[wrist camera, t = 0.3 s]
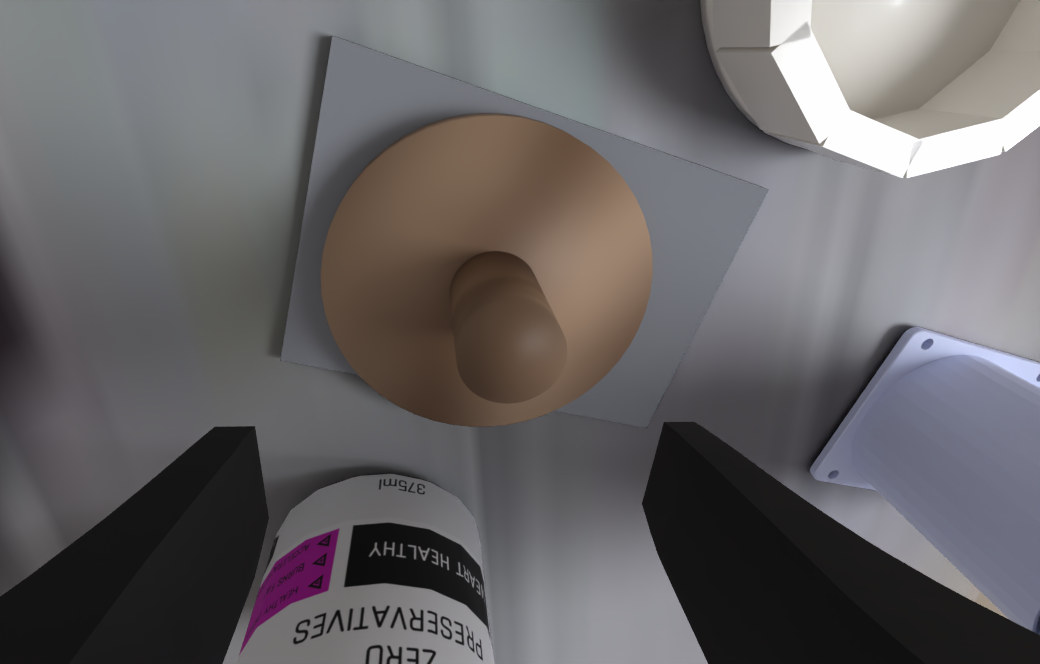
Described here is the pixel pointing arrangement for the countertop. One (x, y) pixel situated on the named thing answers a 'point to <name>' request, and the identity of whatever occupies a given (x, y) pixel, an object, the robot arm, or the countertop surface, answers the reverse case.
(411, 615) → the supplement can
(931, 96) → the bowl
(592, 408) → the mat
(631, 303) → the lid
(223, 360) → the countertop surface
